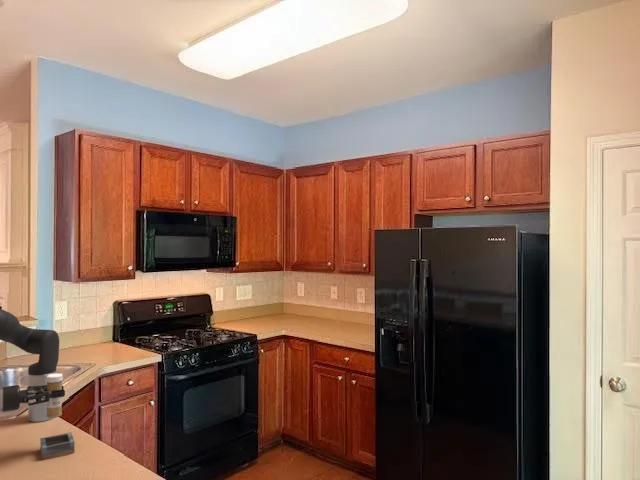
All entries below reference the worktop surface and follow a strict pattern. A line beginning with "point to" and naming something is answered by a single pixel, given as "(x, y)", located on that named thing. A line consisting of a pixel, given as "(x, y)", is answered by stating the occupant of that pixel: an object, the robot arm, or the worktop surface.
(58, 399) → the sprinkles bottle
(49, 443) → the socket jig
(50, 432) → the worktop surface
